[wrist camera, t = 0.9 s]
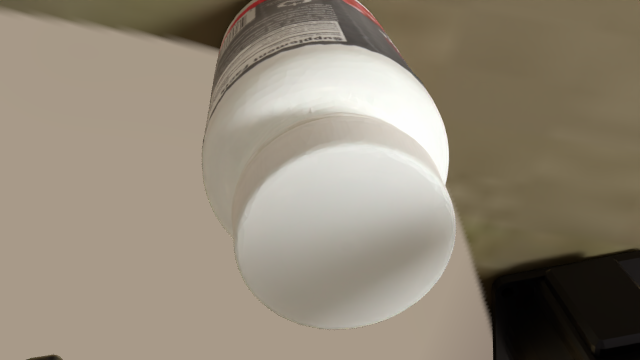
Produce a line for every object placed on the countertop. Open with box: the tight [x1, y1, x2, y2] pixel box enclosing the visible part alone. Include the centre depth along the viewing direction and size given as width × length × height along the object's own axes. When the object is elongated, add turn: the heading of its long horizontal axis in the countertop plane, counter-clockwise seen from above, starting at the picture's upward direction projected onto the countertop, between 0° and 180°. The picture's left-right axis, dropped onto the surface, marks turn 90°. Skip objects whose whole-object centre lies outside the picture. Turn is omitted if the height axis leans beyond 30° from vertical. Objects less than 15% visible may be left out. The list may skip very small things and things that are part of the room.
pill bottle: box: [202, 0, 456, 329], centre depth 15 cm, size 5×5×10 cm
